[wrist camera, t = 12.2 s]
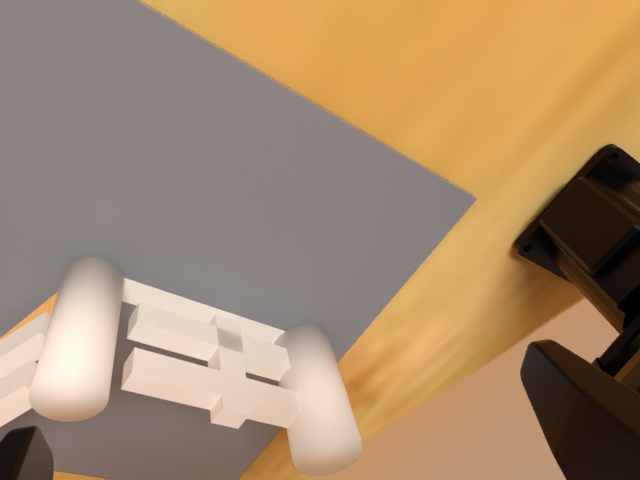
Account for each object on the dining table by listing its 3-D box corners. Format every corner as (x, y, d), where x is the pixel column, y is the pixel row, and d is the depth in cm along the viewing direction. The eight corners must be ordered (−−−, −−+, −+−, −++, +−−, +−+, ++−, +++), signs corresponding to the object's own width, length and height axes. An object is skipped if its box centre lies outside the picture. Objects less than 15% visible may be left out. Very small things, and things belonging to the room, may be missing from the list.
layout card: (474, 195, 25) (477, 199, 24) (223, 492, 34) (223, 497, 33) (-282, -246, 13) (-293, -249, 12) (-352, 401, 22) (-359, 407, 21)
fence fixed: (341, 335, 28) (376, 439, 23) (309, 373, 29) (336, 480, 24) (78, 243, 21) (47, 358, 16) (51, 296, 23) (14, 418, 18)
